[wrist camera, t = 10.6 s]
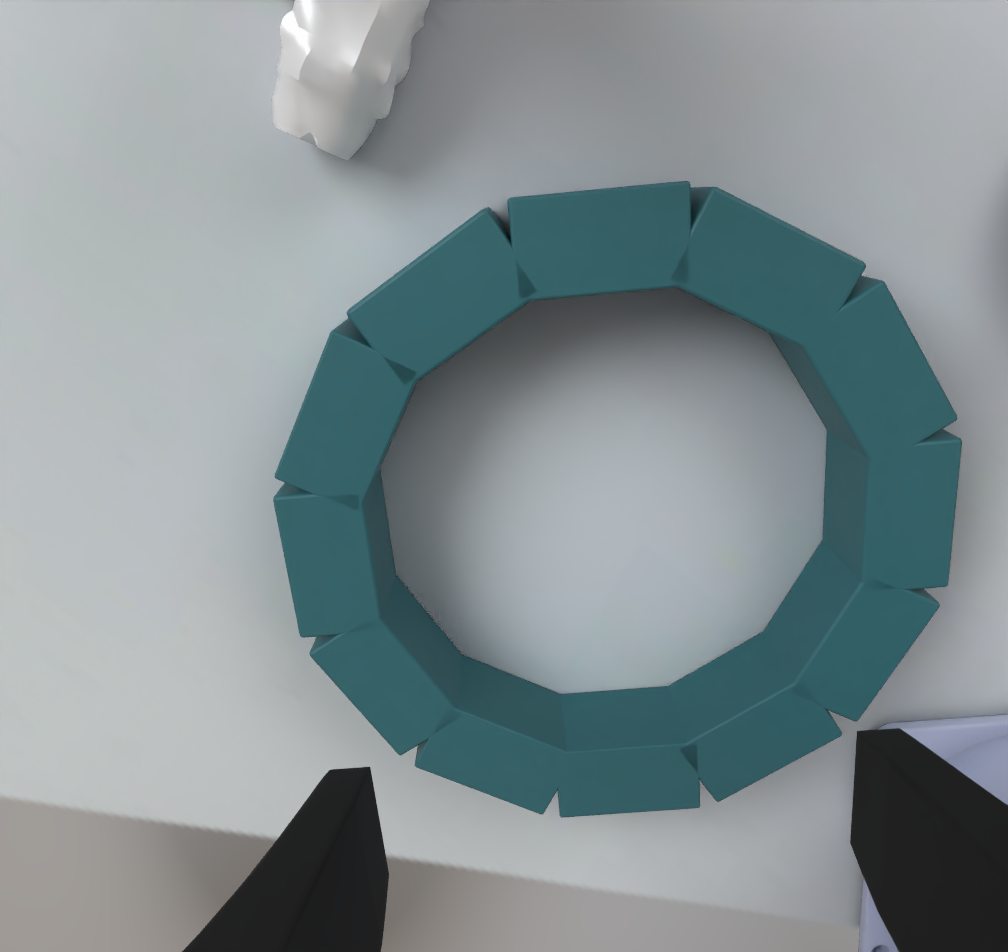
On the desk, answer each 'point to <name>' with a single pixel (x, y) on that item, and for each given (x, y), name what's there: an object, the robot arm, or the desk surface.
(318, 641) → the hoop
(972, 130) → the desk surface
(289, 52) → the white creature statuette
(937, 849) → the robot arm
